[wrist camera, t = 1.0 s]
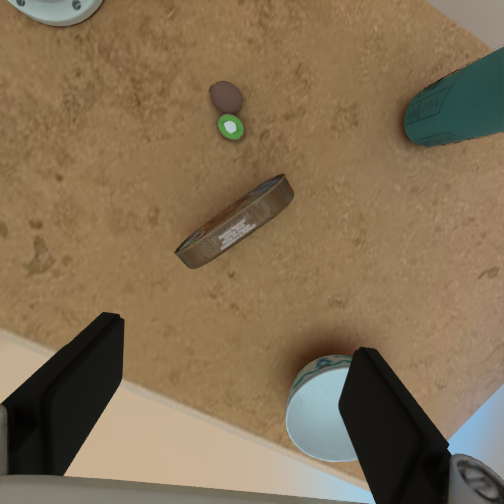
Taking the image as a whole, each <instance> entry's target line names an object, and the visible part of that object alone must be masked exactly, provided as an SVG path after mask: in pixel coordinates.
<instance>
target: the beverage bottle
mask: <svg viewBox="0 0 504 504" xmlns="http://www.w3.org/2000/svg"><path fill="white" fill-rule="evenodd" d="M476 60H478V59H476ZM472 62H473V61H472ZM467 65H468V66H467ZM466 66H467V67H465V68H463V67H462V68H463V69H462V68H460V70H459V69H458V70H459V71H457V70H456V71H457V72H456V71H454V72H455V73H454V72H452V73H453V74H452V73H450V74H452V75H450V74H449V75H450V76H448V75H447V76H448V77H446V76H445V77H446V78H445V77H443V78H441V79H440V80H438V81H437V82H436V83H434V84H433V83H432V85H431V84H430V86H428V87H427V88H425V89H424V90H423V89H422V90H421V92H419V93H418V94H417V95H416V96H415V97H413V100H411V102H410V104H409V105H408V107H407V109H406V112H405V116H404V129H405V132H406V134H407V136H408V138H409V139H410V140H411V141H412V142H414V143H415V144H417V145H419V146H420V145H421V147H422V146H426V147H428V148H429V147H431V146H433V147H434V146H437V145H438V146H439V145H442V146H444V145H445V144H446V143H448V145H449V143H451V142H453V144H455V143H454V142H456V141H458V142H459V141H461V140H463V141H464V140H467V139H468V140H469V139H471V138H473V139H474V138H476V137H479V138H480V137H482V136H483V137H484V136H486V135H487V136H488V135H489V136H490V135H491V134H496V133H499V132H503V131H504V47H503V48H500V49H499V50H496V51H494V52H492V53H491V54H489V55H487V56H485V57H483V58H481V59H479V60H478V61H476V62H475V60H474V63H472V64H470V65H469V64H466ZM442 79H443V80H442ZM487 136H486V137H487ZM489 136H488V137H489ZM483 137H482V138H483ZM479 138H478V139H479ZM469 141H470V140H469ZM456 143H457V142H456ZM459 143H460V142H459ZM426 147H425V148H426Z"/></svg>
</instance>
